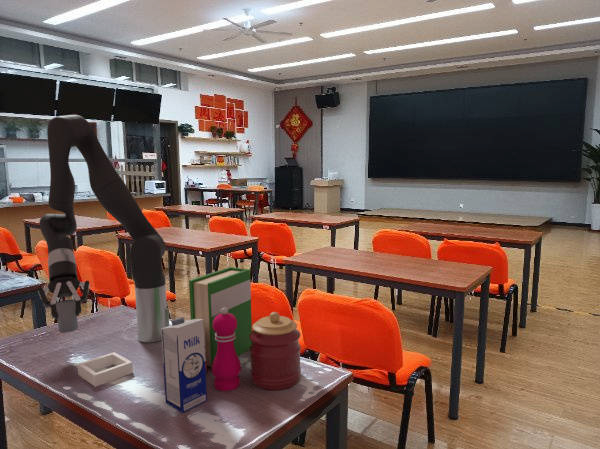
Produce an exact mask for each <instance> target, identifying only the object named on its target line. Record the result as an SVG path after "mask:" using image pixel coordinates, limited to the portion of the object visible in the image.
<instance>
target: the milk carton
mask: <svg viewBox="0 0 600 449" xmlns="http://www.w3.org/2000/svg"><path fill="white" fill-rule="evenodd" d="M203 320H204V319H193V320H191V319H188V320H186V319H184V317H179V318H175V319H172V320H171V321H170V322H171V325H169V326H168V327H165V328H161V333H162V340H161V347H162V348H161V350H162V362H163V363H162V365H163V367H162V368H163V378H164V380H163V381H164V382H163V383H164V397H165V399H164V400H165V401H164V402H165V404H166V405H168V406H170V407H171V408H174V409H175V410H176V411H179V412H180V413H182V414H184V413H185V412H188V411H189V410H191V409H193V408H195V407H197V406H199V405H201V404H203V403H205V402H208V398H207V396H208V395H207V394H208V393H207V376H206V375H207V373H206V372H207V371H206V369H205V347H204V325H203Z"/></svg>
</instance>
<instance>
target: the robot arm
mask: <svg viewBox="0 0 600 449" xmlns="http://www.w3.org/2000/svg"><path fill="white" fill-rule="evenodd" d="M46 132H47V135H46V136H47V147H48V157H49V168H50V173H49V174H50V180H49V181H50V182H49V192H48V206H49V208H50V209H52V210H54V211H58V212H61V213H45V214H44V215H42V217H41V218H40V219H39V223H38V224H39V230H40V232H41V234H42V236H43V237H44V240H45V243H46V245H47V253H48V254H47V255H48V257H47V258H48V259H47V269H48V279H49V280H48V281H49V282H48V285H47V286H44V287H43V286H38V287H37V292H38V295H39V298H40V300H41V303H42V305H43V307H44V308H45V309H46V308H49V309H50V313H51V318H52V319H54V320H57V319H58V318H57V310H56V303H57V302H60V301H59V300H60V299H63V298H65V297H67V298H71V299H72V300H75V302H76V314H77V317H79V316H80V314H82V312H83V310H82V303H86V302H87V301H88V297H89V292H90V286H91V285H90V281H89V280H85V281H80V280H79V278H78V271H77V270H78V269H77V261H76V258H75V251H74V244H73V240H72V238H71V237H70V236H72V235H74V234H75V233H76V231H77V227H78V226H77V225H78V224H77V221H76V220H77V219H76V216H75V215H76V214H75V211H74V203H75V202H74V200H75V195H76V194H75V192H76V182H75V178H74V176H73V173H72V170H71V167H70V164H69V163H70V162H69V159H70V158H69V157H70V154H71V150H72V149H71V148H74V147H76V149H77V150H78V151H79V152H80V153H81V156H82V158H83V159H84V161H85V163H86V166H87V169H88V172H87V173H88V181H89V185H90V189H91V191H92V193H93V194H94V195H95V197H96V199H97V200H98V202H99V203H100V204H101V206H102V207H103V208H104V209H105V211H106V212H107V213H108V214H109V215H110V216H112V217H113V219H115V220H116V221H117V222H119V224H121V225H122V226H123V227H124V229H125V230H126V232H127V233H128V235H129V237H130V238H131V240H132V243H131V246H130V249H129V250H130V251H129V257H130V258H129V259H130V260H129V261H130V267H131V277H132V280H133V282H134V294H135V295H134V297H135V310H136V324H137V326H136V327H137V339H138V341H139V342H142V343H157V342H162V333H161V328H165V327H168V326H170V315H169V314H170V312H169V308H168V304H167V288H166V287H167V286H166V276H165V274H164V272H163V265H162V258H163V256H164V255H165V254H166V251H167V250H166V248H167V247H166V242H165V240H164V239H163V237H162V236H161V235H160V234H159V232H158V231H157V230H156V229H155V227H154V226H153V225H152V223H151V222H150V221H149V220H148V219H147V217H146V216H145V214H144V212H143V211H142V209H141V207H140V205H139V204H138V202H137V201H136V199H135V197H134V196H133V195H132V193H131V191H130V189H129V188H128V186H127V184H126V183H125V181H124V180H123V179H122V178H123V177H121V176H120V174H119V173H118V171H117V170H116V168H115V167H114V165H113V163H112V162H111V160H110V159H109V157H108V155H107V154H106V152H105V150H104V148H103V147H102V145H101V143H100V141H99V139H98V137H97V134H96V133H95V130H94V129H93V127H92V125H91V124H90V123H89V121H88V120H87V119H86V118H85V117H84V116H81V115H78V114H68V115H67V114H66V115H59V116H55V117H53V118H51V119H50V121H49V122H48V125H47V131H46ZM80 287H81V289H82V290H83V291H82V296H80V295H79V294H78V289H79V288H80ZM48 291H49V292H50V293H51V294H52V297H51V299H50V300H48V297H47V296H46V295H47V294H48Z"/></svg>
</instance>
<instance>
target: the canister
mask: <svg viewBox="0 0 600 449" xmlns="http://www.w3.org/2000/svg"><path fill="white" fill-rule="evenodd" d="M297 326H298V324H297V322H295V321H294V320H292V319H291V318H289V317H287V316H283V315H280V314H279V313H278V312H276V311H272V312H270V314H269V316H263V317H262V318H260V319H258V320H257V321H256V322H254V323H252V332H251V333H250V335H249V338H250V340H251V346H250V349H249V351H250V352H249V354H250V370H249V375H250V379H251V383H252V384H253V385H254V386H255V387H257V388H259V389H263V390H270V391H279V390H285V389H289V388H291V387H294V386H295V385H297V384H298V383H299V381H300V379H301V375H302V366H301V349H302V346H301V344H300V342H299V339H300V338H301V332H300V331H299V329H297Z"/></svg>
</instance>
